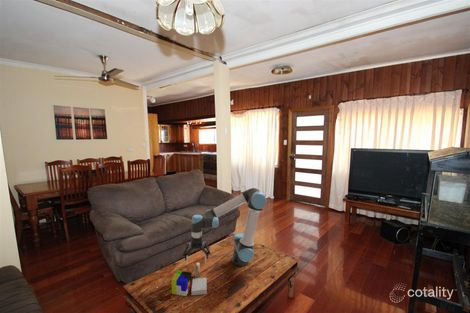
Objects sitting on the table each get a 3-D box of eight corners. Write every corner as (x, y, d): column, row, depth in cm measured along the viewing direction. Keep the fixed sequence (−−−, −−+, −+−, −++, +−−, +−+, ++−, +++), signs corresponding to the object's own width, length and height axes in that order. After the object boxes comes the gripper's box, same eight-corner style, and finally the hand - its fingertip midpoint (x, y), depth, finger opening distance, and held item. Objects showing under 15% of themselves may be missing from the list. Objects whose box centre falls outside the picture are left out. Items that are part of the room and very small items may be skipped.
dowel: (199, 274, 161) (199, 262, 160) (199, 277, 157) (199, 265, 156) (194, 275, 160) (194, 262, 159) (194, 278, 157) (194, 265, 156)
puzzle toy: (185, 296, 139) (185, 282, 138) (171, 293, 141) (171, 279, 140) (191, 285, 149) (191, 272, 148) (178, 283, 151) (178, 270, 150)
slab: (206, 282, 154) (206, 277, 153) (206, 294, 142) (206, 289, 141) (192, 283, 152) (192, 278, 152) (191, 295, 140) (191, 290, 140)
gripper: (213, 233, 161) (212, 259, 163) (179, 234, 157) (179, 261, 159) (214, 237, 154) (213, 265, 156) (178, 239, 150) (178, 267, 152)
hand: (196, 263), depth 158 cm, fingers open, 13 cm apart
